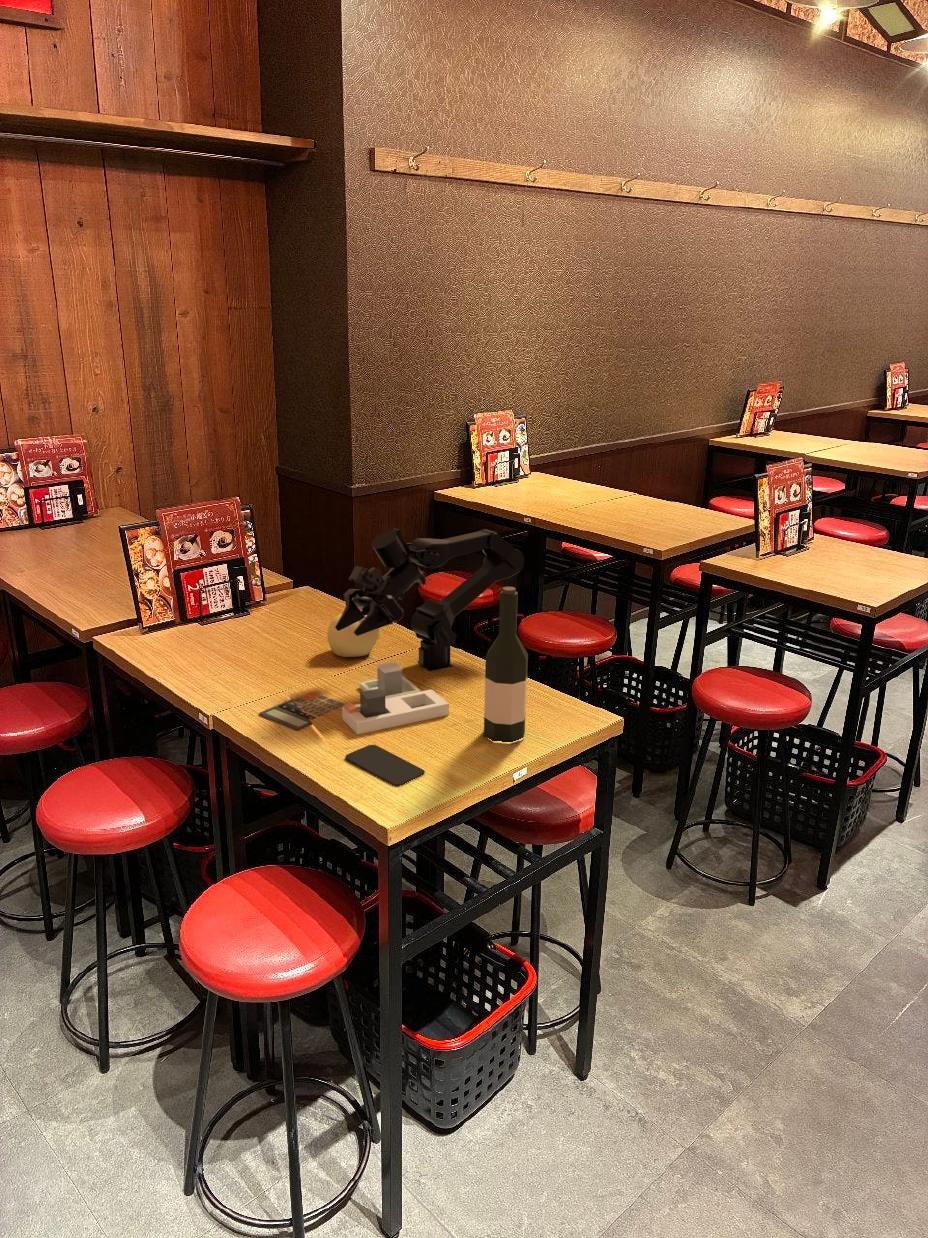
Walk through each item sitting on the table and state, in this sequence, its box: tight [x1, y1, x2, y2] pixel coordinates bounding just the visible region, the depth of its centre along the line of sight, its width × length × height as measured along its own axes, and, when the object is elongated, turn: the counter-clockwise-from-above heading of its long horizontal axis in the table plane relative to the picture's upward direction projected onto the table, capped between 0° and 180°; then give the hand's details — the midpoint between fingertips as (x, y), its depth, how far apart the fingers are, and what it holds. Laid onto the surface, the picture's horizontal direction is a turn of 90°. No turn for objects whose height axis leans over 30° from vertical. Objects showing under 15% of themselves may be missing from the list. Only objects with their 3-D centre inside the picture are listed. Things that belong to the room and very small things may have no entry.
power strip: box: [341, 689, 450, 736], centre depth 182 cm, size 20×8×6 cm, turn 118°
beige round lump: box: [326, 612, 380, 658], centre depth 215 cm, size 12×12×11 cm
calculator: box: [258, 691, 345, 732], centre depth 186 cm, size 12×1×15 cm
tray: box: [358, 675, 422, 699], centre depth 194 cm, size 10×10×2 cm
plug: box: [376, 661, 403, 696], centre depth 193 cm, size 4×4×6 cm
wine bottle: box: [483, 586, 529, 742], centre depth 172 cm, size 8×8×30 cm
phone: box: [345, 744, 426, 787], centre depth 164 cm, size 7×1×15 cm
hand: (345, 631), depth 191 cm, fingers open, 9 cm apart
